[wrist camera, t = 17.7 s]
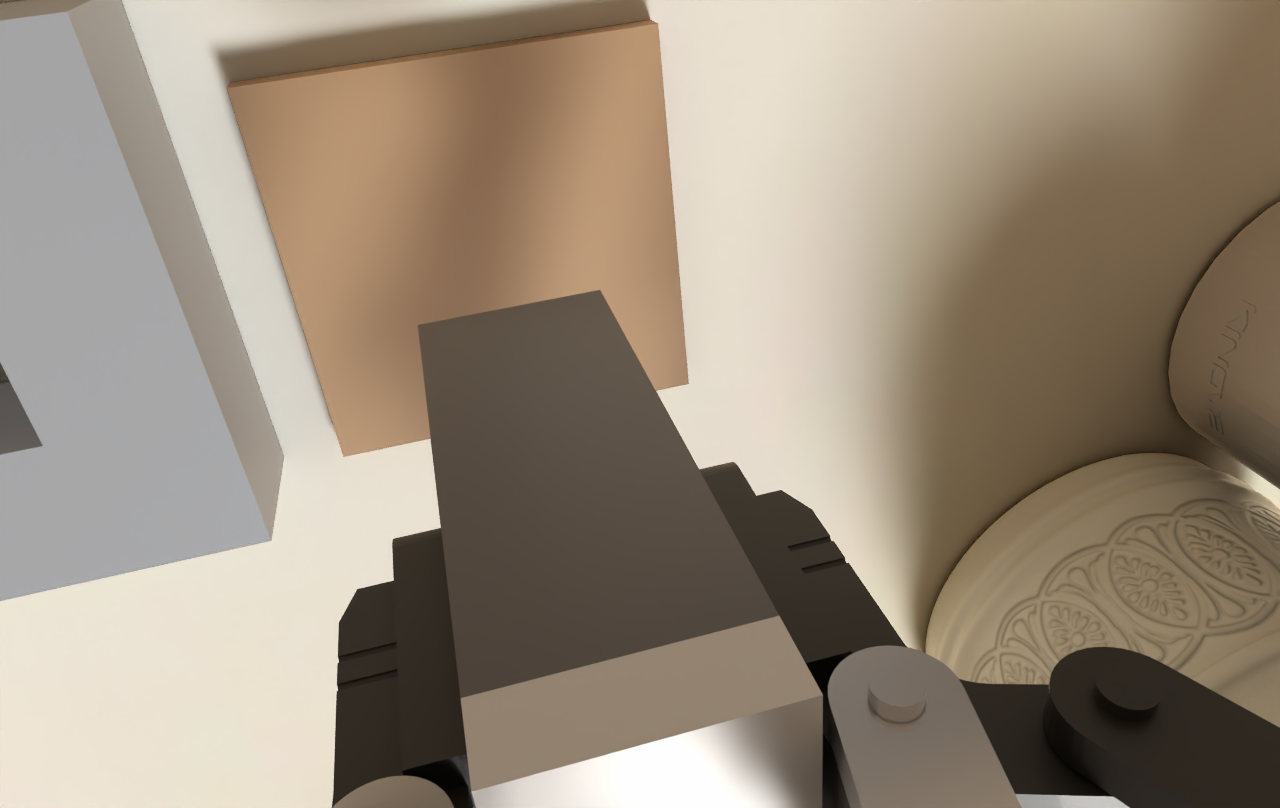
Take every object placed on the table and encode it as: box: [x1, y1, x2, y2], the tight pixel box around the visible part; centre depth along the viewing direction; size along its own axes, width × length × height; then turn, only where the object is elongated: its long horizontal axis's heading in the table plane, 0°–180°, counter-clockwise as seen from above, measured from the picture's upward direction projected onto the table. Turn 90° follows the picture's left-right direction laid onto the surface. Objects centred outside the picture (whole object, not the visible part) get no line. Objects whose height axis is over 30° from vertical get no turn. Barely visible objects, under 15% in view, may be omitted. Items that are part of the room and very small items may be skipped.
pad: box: [227, 20, 689, 457], centre depth 22 cm, size 9×9×1 cm
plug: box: [418, 290, 823, 808], centre depth 12 cm, size 3×3×9 cm
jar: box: [925, 453, 1280, 727], centre depth 27 cm, size 13×13×18 cm
